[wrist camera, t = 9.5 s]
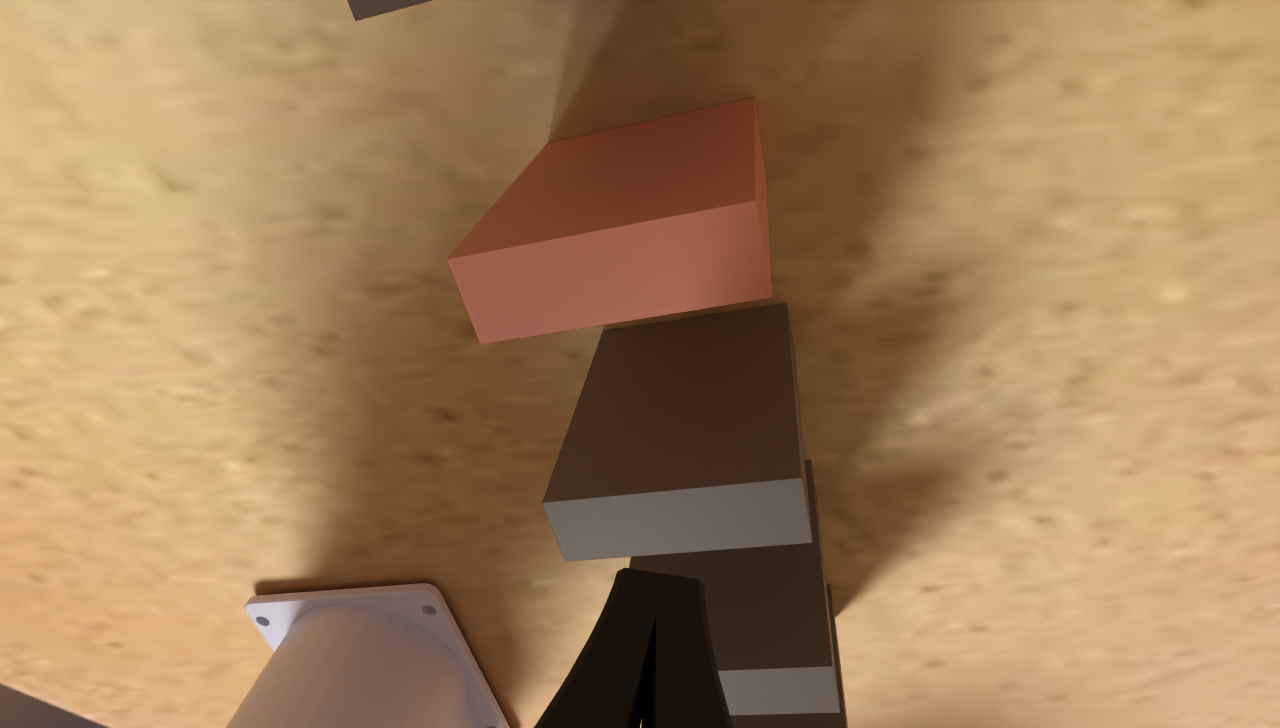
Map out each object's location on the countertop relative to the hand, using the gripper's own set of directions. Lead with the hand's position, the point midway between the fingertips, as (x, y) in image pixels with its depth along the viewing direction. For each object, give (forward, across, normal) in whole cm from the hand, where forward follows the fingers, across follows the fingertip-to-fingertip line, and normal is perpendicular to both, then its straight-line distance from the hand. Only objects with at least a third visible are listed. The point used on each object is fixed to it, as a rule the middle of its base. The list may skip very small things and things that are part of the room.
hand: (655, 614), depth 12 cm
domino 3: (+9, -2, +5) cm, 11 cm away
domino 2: (+9, 0, 0) cm, 9 cm away
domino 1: (+9, +2, -5) cm, 11 cm away
